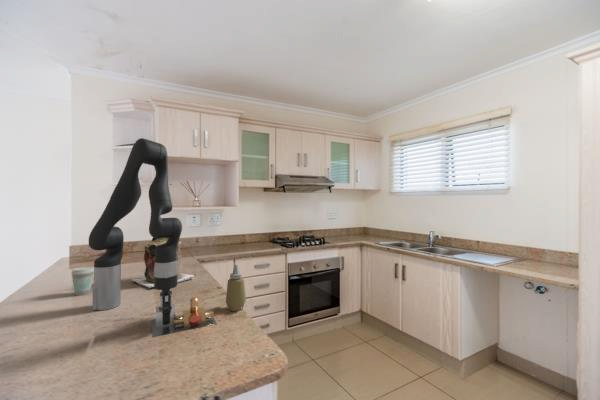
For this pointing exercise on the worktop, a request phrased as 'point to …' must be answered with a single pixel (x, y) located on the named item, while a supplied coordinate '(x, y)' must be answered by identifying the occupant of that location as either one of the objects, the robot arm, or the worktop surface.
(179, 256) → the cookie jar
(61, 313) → the worktop surface
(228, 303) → the squeeze bottle
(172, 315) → the steel fitting
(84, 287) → the coffee cup
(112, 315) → the worktop surface
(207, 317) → the valve station
